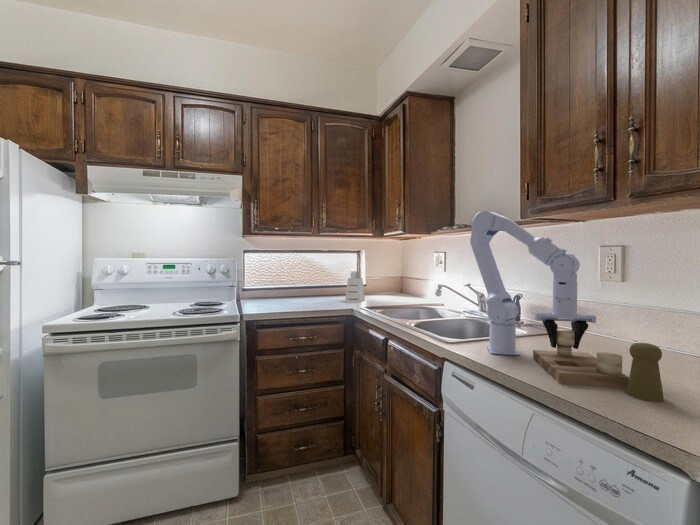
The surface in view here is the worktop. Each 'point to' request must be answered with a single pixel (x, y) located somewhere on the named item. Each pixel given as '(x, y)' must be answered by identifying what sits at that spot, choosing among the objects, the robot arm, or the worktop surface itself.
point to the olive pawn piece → (645, 373)
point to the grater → (354, 289)
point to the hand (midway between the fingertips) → (564, 347)
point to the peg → (565, 341)
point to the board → (584, 368)
